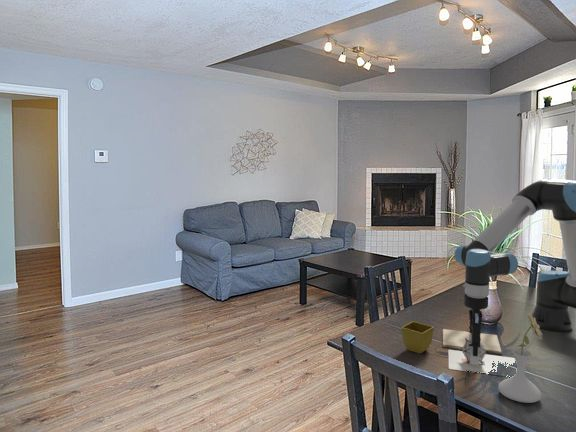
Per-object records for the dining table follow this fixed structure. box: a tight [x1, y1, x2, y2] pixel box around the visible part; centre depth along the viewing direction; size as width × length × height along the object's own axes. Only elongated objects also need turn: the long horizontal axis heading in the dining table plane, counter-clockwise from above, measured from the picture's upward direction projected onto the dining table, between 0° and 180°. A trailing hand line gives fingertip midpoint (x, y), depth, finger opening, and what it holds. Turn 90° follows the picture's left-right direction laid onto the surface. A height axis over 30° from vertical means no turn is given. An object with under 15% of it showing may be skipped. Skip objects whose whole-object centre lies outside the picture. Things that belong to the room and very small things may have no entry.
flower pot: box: [401, 321, 435, 354], centre depth 163 cm, size 9×9×9 cm
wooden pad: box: [442, 328, 502, 355], centre depth 170 cm, size 20×16×1 cm
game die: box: [459, 338, 489, 364], centre depth 152 cm, size 9×8×10 cm
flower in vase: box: [497, 312, 543, 404], centre depth 130 cm, size 13×11×25 cm
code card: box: [447, 349, 516, 378], centre depth 152 cm, size 22×16×1 cm
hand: (473, 357), depth 153 cm, fingers closed on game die, 9 cm apart
